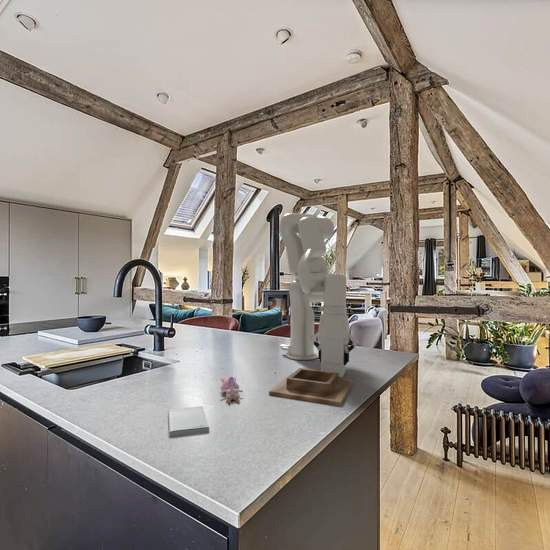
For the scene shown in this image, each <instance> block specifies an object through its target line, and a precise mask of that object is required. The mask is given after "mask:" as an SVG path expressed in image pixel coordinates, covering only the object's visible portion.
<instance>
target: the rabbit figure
mask: <svg viewBox="0 0 550 550" xmlns="http://www.w3.org/2000/svg"><path fill="white" fill-rule="evenodd" d="M220 381H221V382H222V384H221V386H220V392H219V393H220V394H223V393H225V399H226V401H227V403H231V401H235V402H237V403H238V404H240V402H241V399H240V393H243V392H244V390H243V389H240V385H239V383H237V379H236V377H235V376H234V375H229V376H226V375H222V376H221V379H220ZM239 392H240V393H239Z"/></svg>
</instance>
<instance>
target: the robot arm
mask: <svg viewBox="0 0 550 550" xmlns="http://www.w3.org/2000/svg"><path fill="white" fill-rule="evenodd" d="M279 232H280V236H281V240H282V242H283V243H284V246H285V250H286V256H287V258H286V259H287V263H288V269H289V273H290V275H291V276H292V277H294V278H297V279H293V280H292V281H291V282H290V284H289V287H288V294H289V301H290V341H289V342H290V343H289V344H288V345H287V344H281V345H280V350H282V351H287V352H286V353H285V354H286V357H287V358H288V359H291V360H298V361H311V360H315V359H317V358H318V360H319V363H321V338H330V339H343V346H344V350H345V353H344V365H345V366H346V365H347V364H348V363H349V362H350V352H352V351H353V350H354V348H356V346H357V345H358V344H359V340H358V339H357V338H356V337H354V336H353V335H352V334H351V333H350V323H349V321H350V320H349V316H348V315H347V277H346V276H345V274H338V273H337V274H335V273H329V269H328V265H327V262H326V260H325V258H323V256H324V255H325V253H326V252H327V245H326V242H325V239H326V240H329V239H331V238H332V237H333V235H334V233H335V226H334V222H333V221H332V220H331V218H329V217H326V216H322V215H319V214H309V213H301V212H299V213H298V212H289V213H286V214H284V215H282V216H281V219H280V222H279ZM298 234H299V235H298ZM310 303H323V305H322V306H319V308H318V309H319V311H321V312H322V313H321V314H320V317H319V322H318V329H317V330H318V331H317V332H316V333H315V312H314V311H315V310H314V309H313V308H312V306H311V304H310ZM350 341H351V342H352V344H351V345H350V346H349V345H348V344H349V343H350ZM314 348H316V349H317V350H318V353H316V352H315V351H314V350H315V349H314Z"/></svg>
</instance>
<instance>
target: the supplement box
mask: <svg viewBox="0 0 550 550" xmlns="http://www.w3.org/2000/svg"><path fill="white" fill-rule="evenodd" d="M344 353H345V350H344V346H343V339H330V338H321V362H320V370H321V371H329V372H337V373H339V379H343V377H344V375H345V373H346V365H344Z"/></svg>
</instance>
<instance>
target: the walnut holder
mask: <svg viewBox="0 0 550 550" xmlns="http://www.w3.org/2000/svg"><path fill="white" fill-rule="evenodd" d="M353 385H354V380H350V379H343V378H340V377H339V373H337V372H329V371H321V369H320V370H318V369H311V368H305V367H304V368H303V367H299V368H298V369H297V370H295V371H294V372H291V373H290V374H288V376H286V377H284V379H282V380H281V381H280V382H279V383H277V384H276V385H275V386H273V387H272V388H271V389H270V390H269V391H268V395H269V396H274V397H280V398H287V399H295V400H300V401H305V402H306V401H307V402H313V403H319V404H325V403H326V404H325V405H331V404H332V406H337V405H338V406H339V407H341V406H342V404H343V403H342V402H344V401H345V399H346V397H347V396H348V393H349V392H350V391H351V389H350V388H352V386H353ZM346 395H347V396H346Z"/></svg>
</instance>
